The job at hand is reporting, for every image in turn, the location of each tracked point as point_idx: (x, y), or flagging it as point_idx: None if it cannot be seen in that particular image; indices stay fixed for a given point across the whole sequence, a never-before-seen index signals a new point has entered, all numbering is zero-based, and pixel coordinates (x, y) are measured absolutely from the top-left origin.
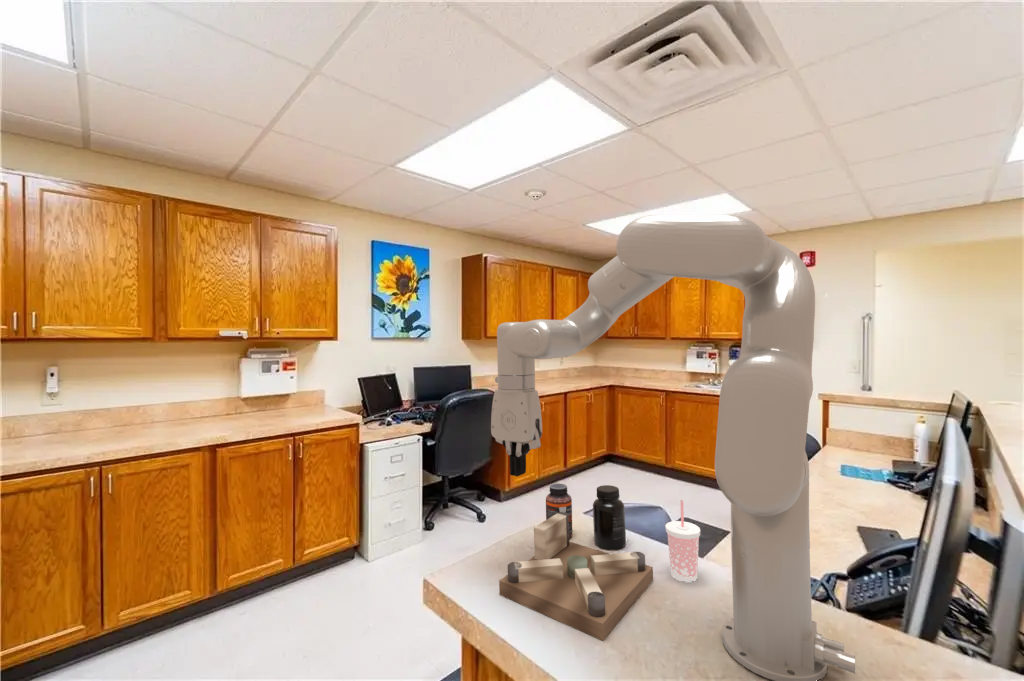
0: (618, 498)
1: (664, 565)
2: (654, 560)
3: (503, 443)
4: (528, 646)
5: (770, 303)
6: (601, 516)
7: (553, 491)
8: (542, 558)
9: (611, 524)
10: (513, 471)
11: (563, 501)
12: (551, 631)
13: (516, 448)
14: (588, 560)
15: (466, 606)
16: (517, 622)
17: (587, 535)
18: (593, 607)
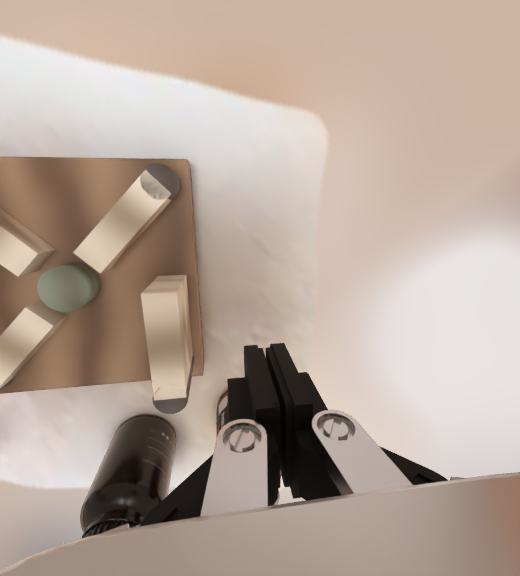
0: None
1: (17, 435)
2: (42, 438)
3: (435, 480)
4: (28, 60)
5: None
6: (123, 468)
7: None
8: (163, 276)
9: (106, 462)
10: (268, 357)
11: None
12: (29, 127)
13: (264, 471)
14: (95, 339)
15: (212, 92)
16: (98, 111)
17: (199, 437)
18: None
